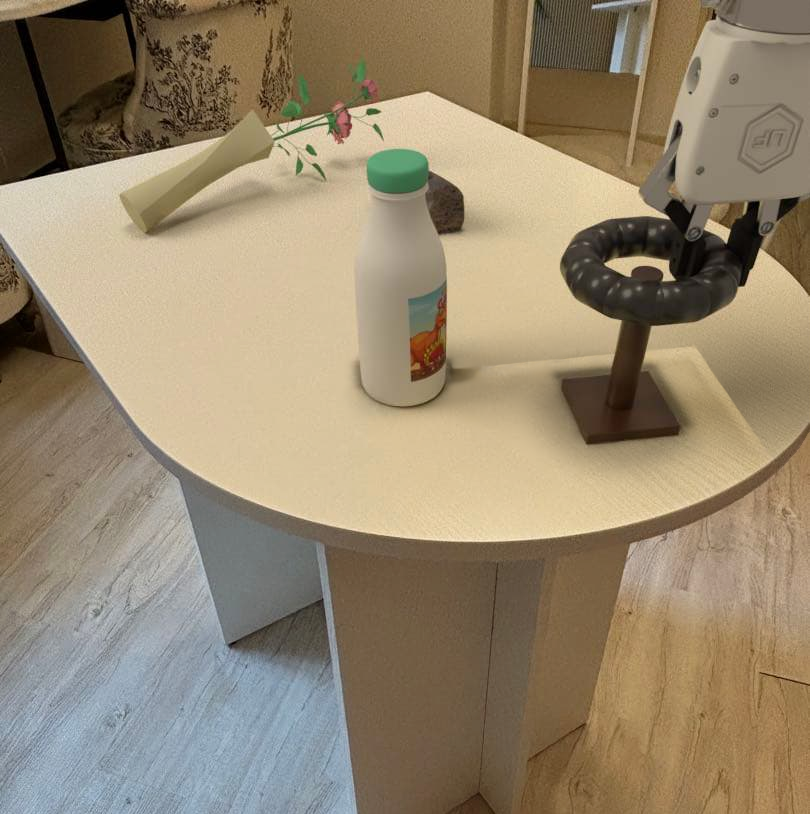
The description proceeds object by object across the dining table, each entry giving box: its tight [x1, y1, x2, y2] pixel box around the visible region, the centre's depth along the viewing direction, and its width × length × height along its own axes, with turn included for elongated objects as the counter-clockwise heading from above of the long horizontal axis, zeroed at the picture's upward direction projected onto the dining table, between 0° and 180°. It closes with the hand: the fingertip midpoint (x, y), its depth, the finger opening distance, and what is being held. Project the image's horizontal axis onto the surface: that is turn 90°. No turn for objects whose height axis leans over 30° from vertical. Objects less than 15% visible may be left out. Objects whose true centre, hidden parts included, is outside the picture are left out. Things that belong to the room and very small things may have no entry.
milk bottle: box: [353, 148, 448, 407], centre depth 66 cm, size 8×8×20 cm
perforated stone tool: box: [425, 170, 465, 235], centre depth 92 cm, size 15×5×7 cm, turn 36°
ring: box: [559, 215, 742, 327], centre depth 60 cm, size 13×13×3 cm
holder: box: [560, 265, 681, 445], centre depth 65 cm, size 8×8×13 cm
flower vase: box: [118, 58, 385, 234], centre depth 99 cm, size 12×12×35 cm
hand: (707, 278), depth 61 cm, fingers closed on ring, 3 cm apart
